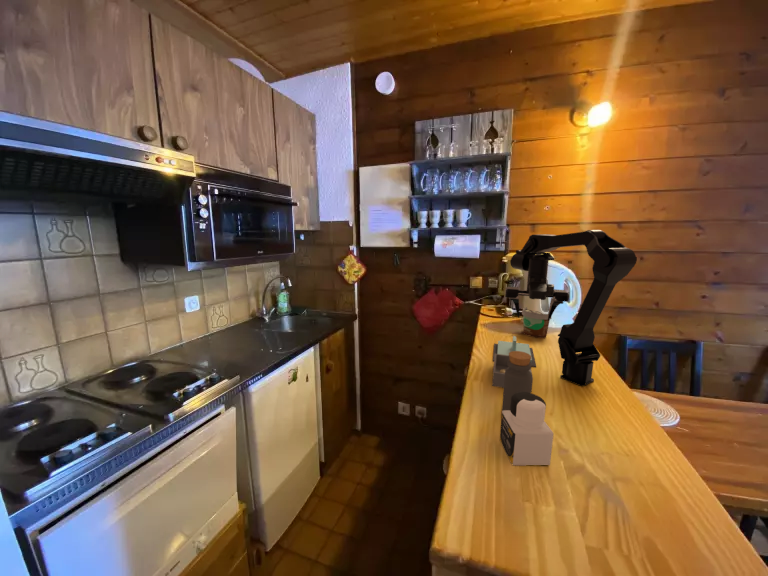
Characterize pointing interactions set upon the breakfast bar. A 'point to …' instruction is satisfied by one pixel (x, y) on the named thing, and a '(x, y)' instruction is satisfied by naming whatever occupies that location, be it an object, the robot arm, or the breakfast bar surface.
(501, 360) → the tub
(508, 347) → the lid
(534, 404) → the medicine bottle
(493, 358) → the mat
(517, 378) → the bottle
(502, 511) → the breakfast bar surface
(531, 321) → the food container
